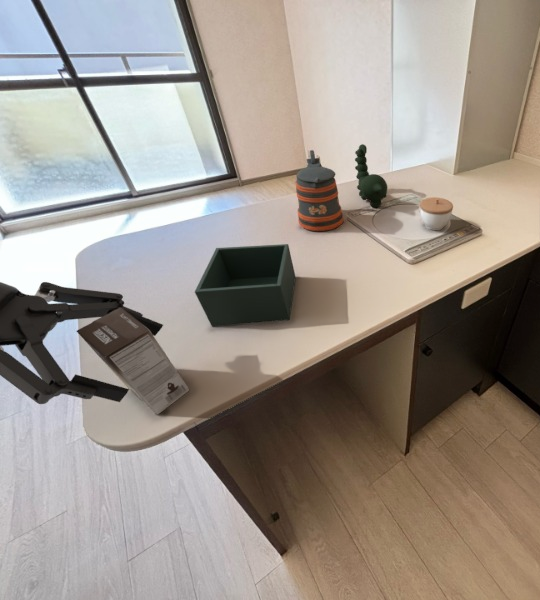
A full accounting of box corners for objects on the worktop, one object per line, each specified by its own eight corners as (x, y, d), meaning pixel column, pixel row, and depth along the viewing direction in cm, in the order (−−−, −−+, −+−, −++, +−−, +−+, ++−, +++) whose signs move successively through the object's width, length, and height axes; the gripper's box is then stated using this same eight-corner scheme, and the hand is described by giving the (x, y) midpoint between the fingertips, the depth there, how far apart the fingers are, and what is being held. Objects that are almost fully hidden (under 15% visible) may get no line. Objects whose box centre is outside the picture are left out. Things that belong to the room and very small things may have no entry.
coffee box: (128, 391, 59) (72, 329, 48) (164, 367, 63) (119, 305, 52) (156, 416, 55) (103, 356, 45) (192, 389, 59) (151, 328, 49)
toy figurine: (351, 193, 132) (368, 215, 113) (346, 142, 121) (365, 157, 102) (373, 190, 134) (394, 211, 116) (370, 140, 123) (393, 154, 104)
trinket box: (451, 234, 106) (456, 207, 100) (419, 233, 106) (421, 205, 99) (448, 218, 114) (451, 192, 108) (417, 217, 114) (419, 191, 108)
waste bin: (211, 326, 71) (194, 291, 65) (229, 281, 84) (216, 247, 77) (289, 320, 74) (280, 285, 67) (295, 276, 86) (288, 243, 80)
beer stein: (295, 209, 116) (284, 150, 103) (336, 204, 120) (330, 147, 107) (301, 234, 102) (289, 170, 89) (347, 228, 106) (342, 166, 93)
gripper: (18, 263, 52) (161, 320, 64) (-151, 398, 34) (94, 443, 46) (32, 232, 50) (179, 297, 62) (-143, 361, 31) (116, 419, 43)
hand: (143, 360), depth 54 cm, fingers open, 13 cm apart
